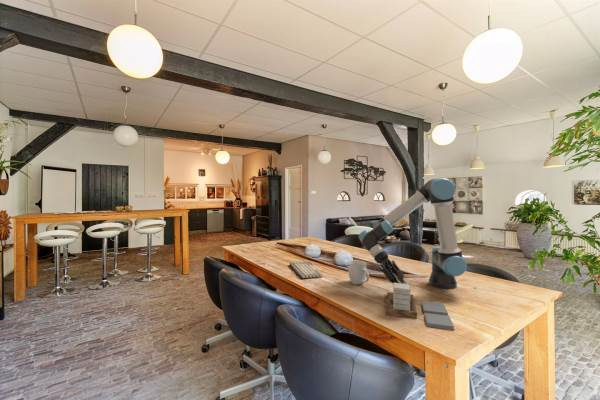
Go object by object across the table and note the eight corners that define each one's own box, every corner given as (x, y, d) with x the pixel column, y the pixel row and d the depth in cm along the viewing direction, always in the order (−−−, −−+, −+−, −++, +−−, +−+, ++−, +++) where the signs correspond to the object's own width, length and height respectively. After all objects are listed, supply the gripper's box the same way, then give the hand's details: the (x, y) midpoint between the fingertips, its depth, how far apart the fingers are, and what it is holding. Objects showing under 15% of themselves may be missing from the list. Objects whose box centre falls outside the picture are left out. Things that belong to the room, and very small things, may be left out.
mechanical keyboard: (327, 278, 182) (327, 273, 182) (300, 281, 177) (300, 276, 177) (309, 264, 218) (309, 260, 218) (286, 266, 213) (286, 262, 213)
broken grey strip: (443, 306, 134) (443, 303, 134) (453, 330, 112) (454, 326, 112) (421, 304, 138) (421, 301, 137) (427, 326, 115) (427, 322, 115)
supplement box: (393, 307, 133) (393, 282, 133) (409, 309, 131) (409, 283, 131) (393, 314, 126) (393, 287, 126) (410, 316, 124) (410, 289, 124)
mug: (374, 285, 165) (374, 264, 165) (362, 289, 159) (362, 267, 159) (357, 279, 177) (357, 259, 177) (344, 282, 171) (344, 261, 171)
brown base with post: (412, 297, 146) (413, 270, 146) (417, 318, 122) (417, 286, 121) (387, 294, 150) (387, 268, 150) (386, 314, 126) (386, 283, 126)
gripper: (382, 255, 162) (409, 290, 150) (366, 260, 151) (393, 298, 139) (391, 247, 158) (419, 282, 146) (374, 252, 147) (403, 291, 135)
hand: (406, 290), depth 142 cm, fingers closed on brown base with post, 4 cm apart
